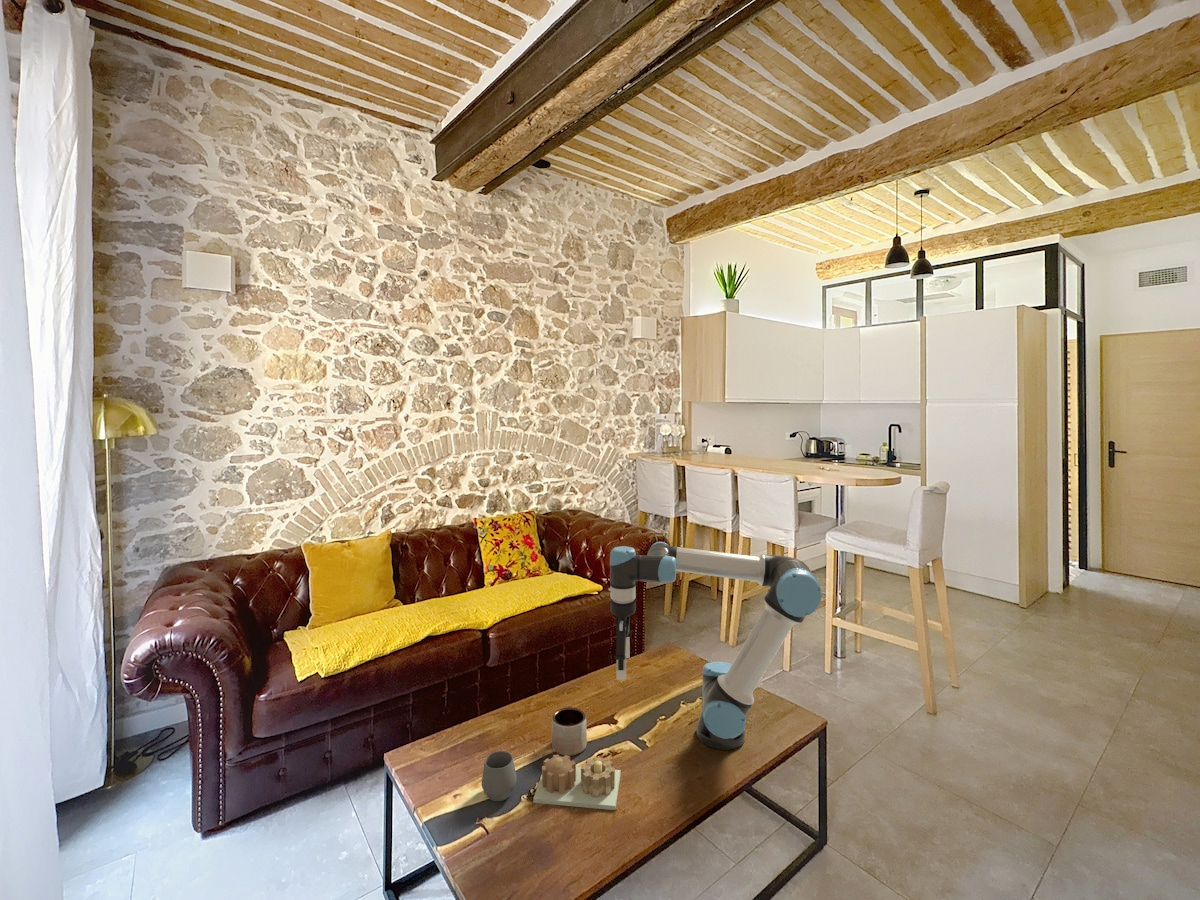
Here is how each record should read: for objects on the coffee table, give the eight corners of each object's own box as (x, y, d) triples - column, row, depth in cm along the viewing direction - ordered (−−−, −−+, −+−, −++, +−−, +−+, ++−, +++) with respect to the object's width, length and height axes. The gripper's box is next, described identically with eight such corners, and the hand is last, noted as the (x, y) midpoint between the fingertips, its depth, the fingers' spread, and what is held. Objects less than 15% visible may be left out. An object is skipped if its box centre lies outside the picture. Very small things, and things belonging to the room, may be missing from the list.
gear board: (620, 774, 156) (620, 748, 155) (615, 810, 142) (615, 782, 141) (545, 767, 159) (545, 742, 158) (533, 802, 145) (532, 775, 144)
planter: (582, 759, 163) (582, 728, 162) (547, 754, 165) (547, 724, 164) (590, 737, 173) (590, 708, 172) (557, 733, 175) (556, 705, 175)
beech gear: (616, 775, 154) (616, 758, 153) (612, 798, 144) (612, 781, 144) (584, 772, 155) (584, 756, 154) (578, 795, 146) (578, 778, 145)
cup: (500, 812, 142) (499, 775, 141) (474, 798, 147) (473, 763, 146) (524, 790, 150) (523, 755, 149) (498, 777, 155) (497, 744, 154)
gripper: (614, 584, 174) (615, 648, 176) (605, 614, 150) (606, 688, 151) (637, 585, 173) (638, 649, 175) (632, 616, 149) (632, 690, 150)
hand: (623, 668), depth 163 cm, fingers open, 13 cm apart
